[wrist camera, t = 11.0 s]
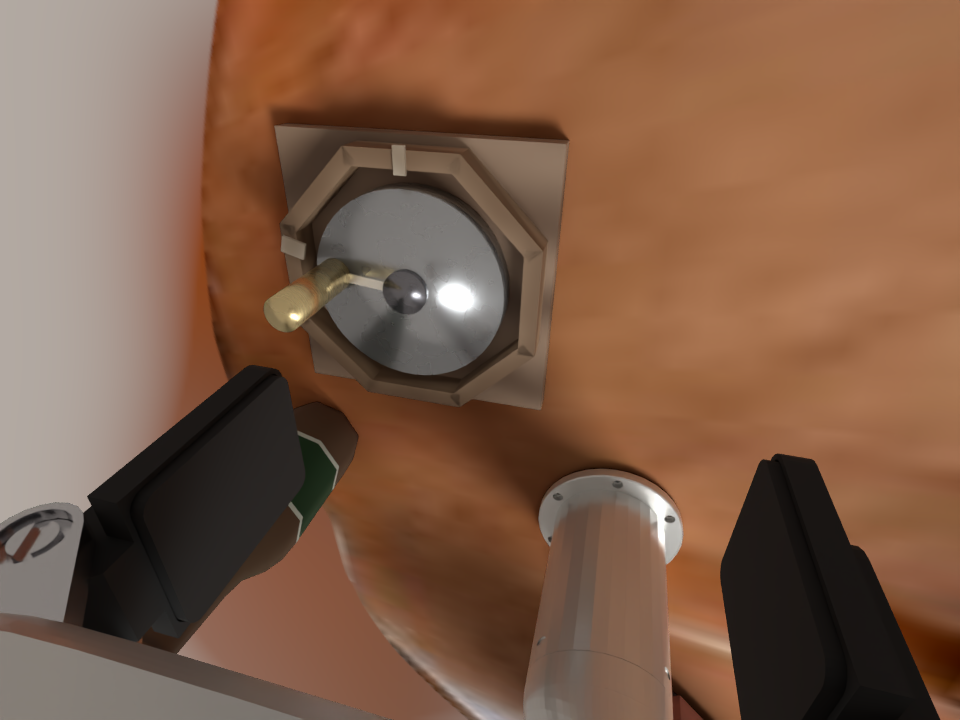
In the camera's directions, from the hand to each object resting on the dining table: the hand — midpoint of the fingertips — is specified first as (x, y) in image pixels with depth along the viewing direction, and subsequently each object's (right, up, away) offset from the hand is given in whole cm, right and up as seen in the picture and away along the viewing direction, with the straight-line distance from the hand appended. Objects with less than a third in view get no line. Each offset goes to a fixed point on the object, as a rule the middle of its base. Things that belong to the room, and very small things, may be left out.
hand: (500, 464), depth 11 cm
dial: (-5, +8, +29) cm, 30 cm away
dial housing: (-5, +9, +30) cm, 32 cm away
